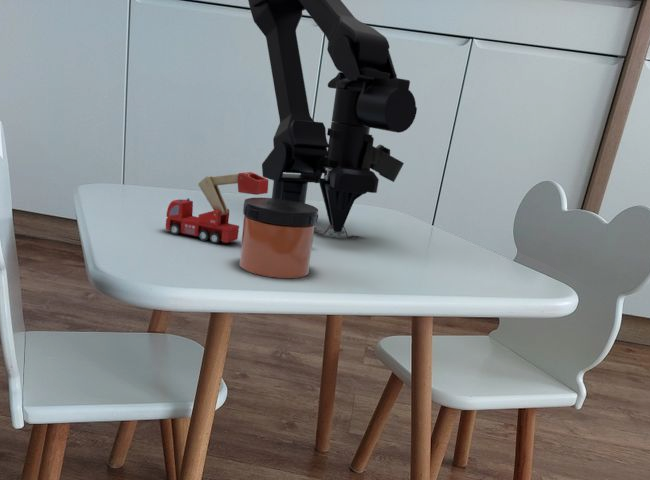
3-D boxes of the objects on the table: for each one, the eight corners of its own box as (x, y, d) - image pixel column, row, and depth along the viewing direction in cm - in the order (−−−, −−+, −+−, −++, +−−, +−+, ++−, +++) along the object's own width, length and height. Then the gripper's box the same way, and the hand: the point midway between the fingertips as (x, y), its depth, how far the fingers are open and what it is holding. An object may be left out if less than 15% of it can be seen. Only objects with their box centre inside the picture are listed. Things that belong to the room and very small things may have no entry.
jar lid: (240, 207, 84) (242, 194, 83) (310, 214, 85) (311, 202, 85) (245, 221, 76) (247, 207, 75) (322, 228, 77) (324, 215, 77)
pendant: (308, 234, 104) (310, 217, 103) (308, 229, 108) (310, 212, 108) (359, 241, 105) (362, 224, 104) (358, 236, 109) (361, 219, 108)
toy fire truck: (174, 228, 96) (179, 158, 93) (262, 248, 92) (270, 175, 89) (161, 231, 93) (165, 159, 90) (251, 252, 89) (259, 176, 86)
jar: (237, 256, 86) (242, 199, 83) (302, 262, 87) (310, 206, 85) (241, 274, 78) (248, 212, 76) (313, 281, 80) (322, 219, 77)
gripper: (422, 136, 93) (402, 248, 98) (386, 127, 110) (371, 223, 116) (343, 125, 91) (327, 241, 96) (319, 118, 108) (306, 216, 113)
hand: (335, 229), depth 106 cm, fingers closed
